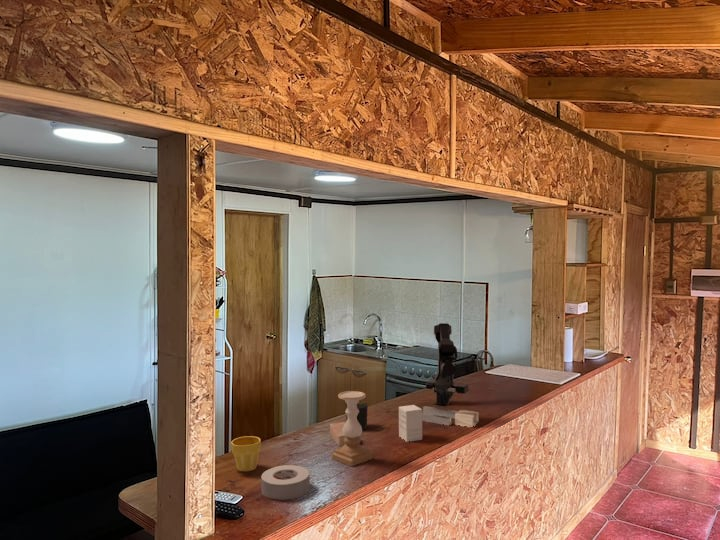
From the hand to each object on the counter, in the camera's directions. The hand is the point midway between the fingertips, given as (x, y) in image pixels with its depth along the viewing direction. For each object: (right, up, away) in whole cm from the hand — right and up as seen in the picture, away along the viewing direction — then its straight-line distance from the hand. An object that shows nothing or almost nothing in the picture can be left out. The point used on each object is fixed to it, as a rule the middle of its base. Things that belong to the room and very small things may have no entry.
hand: (446, 405), depth 247 cm
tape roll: (-63, -10, -71) cm, 95 cm away
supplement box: (-19, -8, -23) cm, 31 cm away
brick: (-46, -8, -23) cm, 52 cm away
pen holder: (-41, -7, -9) cm, 42 cm away
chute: (-4, -7, +3) cm, 8 cm away
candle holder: (-42, -9, -45) cm, 62 cm away
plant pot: (-79, -9, -54) cm, 96 cm away
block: (+8, -7, -5) cm, 12 cm away
